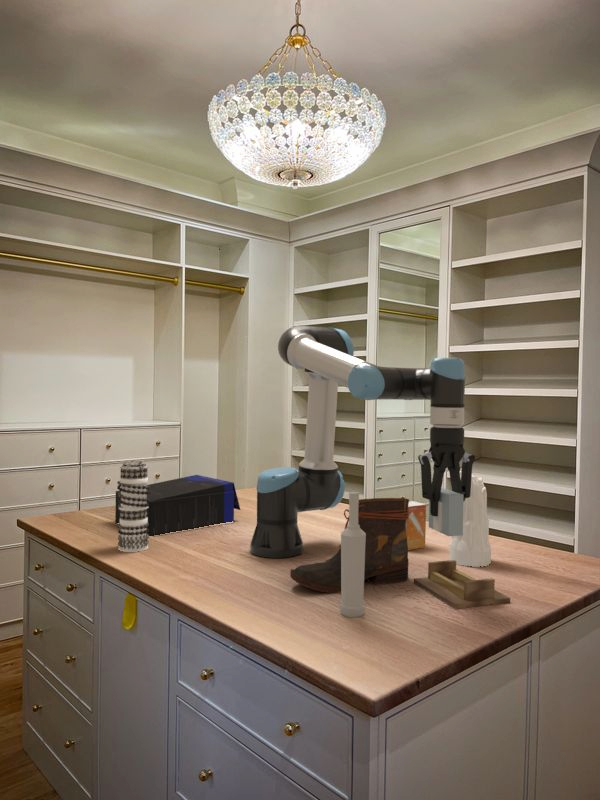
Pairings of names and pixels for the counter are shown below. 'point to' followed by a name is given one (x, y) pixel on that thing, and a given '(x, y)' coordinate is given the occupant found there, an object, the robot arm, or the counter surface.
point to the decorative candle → (133, 507)
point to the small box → (416, 525)
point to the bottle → (352, 563)
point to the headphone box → (188, 504)
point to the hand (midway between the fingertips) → (445, 529)
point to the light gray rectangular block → (450, 513)
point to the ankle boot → (368, 548)
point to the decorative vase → (473, 529)
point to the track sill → (459, 586)
